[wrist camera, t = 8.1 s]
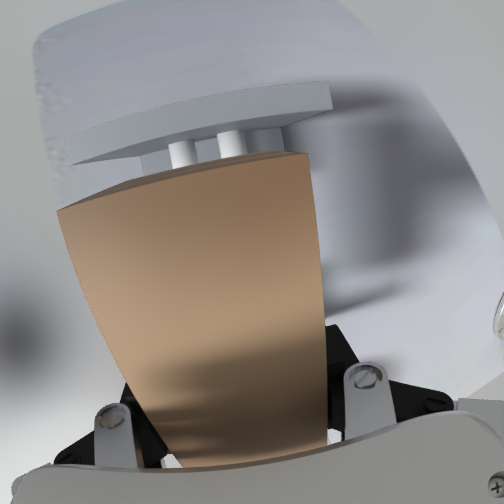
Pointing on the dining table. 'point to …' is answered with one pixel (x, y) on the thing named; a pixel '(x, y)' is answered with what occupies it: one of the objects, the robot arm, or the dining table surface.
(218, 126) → the peg frame
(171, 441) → the shelf board
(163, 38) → the dining table surface
